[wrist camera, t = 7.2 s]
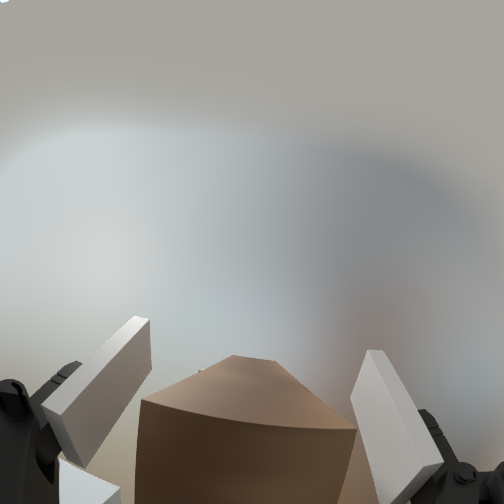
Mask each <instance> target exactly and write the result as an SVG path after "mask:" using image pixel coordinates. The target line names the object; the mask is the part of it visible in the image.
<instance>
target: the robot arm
mask: <svg viewBox="0 0 504 504" xmlns="http://www.w3.org/2000/svg"><path fill="white" fill-rule="evenodd" d="M7 1H8V0H0V4H3V3H5V2H7ZM151 370H152V367H151V348H150V320H149V319H146V318H142V317H138V316H133V317H132V318H131V319H130V320H129V321H128V322H127V323H126V324H125V325H124V326H122V327H121V328H120V329H119V330H118V331H117V332H116V333H115V334H114V335H113V336H112V337H111V338H109V339H108V340H107V341H106V342H105V343H104V344H103V345H102V346H101V347H100V348H99V349H98V350H97V351H96V352H95V353H93V355H91V356H90V357H89V358H88V359H87V360H86V361H85V362H84V363H80V362H78V361H74V362H72V363H70V364H68V365H65V366H64V367H63V368H62V369H61V370H59V371H58V372H57V374H56V375H54V376H53V377H52V378H51V379H50V380H49V381H47V382H46V383H45V384H44V385H43V386H42V387H41V388H40V389H39V390H38V391H36V392H35V393H34V394H33V395H32V396H31V397H30V398H29V396H28V393H27V391H26V388H25V386H24V385H23V384H22V383H21V382H19V381H17V380H14V379H6V380H2V381H0V504H60V503H59V469H60V463H59V459H58V457H57V456H58V455H59V453H60V452H61V451H62V452H63V453H64V455H65V457H66V459H67V460H68V461H70V462H72V463H74V464H76V465H78V466H80V467H82V468H84V469H85V468H86V467H87V466H88V464H89V462H90V461H91V459H92V458H93V456H94V455H95V453H96V452H97V450H98V449H99V447H100V446H101V444H102V443H103V441H104V439H105V438H106V437H107V435H108V434H109V432H110V431H111V429H112V427H113V426H114V424H115V423H116V421H117V420H118V419H119V417H120V415H121V414H122V412H123V411H124V410H125V408H126V406H127V405H128V403H129V402H130V401H131V399H132V398H133V396H134V395H135V393H136V392H137V390H138V389H139V387H140V385H141V384H142V383H143V381H144V380H145V379H146V377H147V375H148V374H149V373H150V371H151ZM350 399H351V402H352V405H353V408H354V412H355V415H356V418H357V422H358V425H359V429H360V432H361V435H362V438H363V443H364V446H365V450H366V453H367V457H368V461H369V464H370V468H371V472H372V476H373V480H374V484H375V488H376V492H377V496H378V500H379V504H406V503H407V502H408V501H409V500H410V501H411V504H504V462H501V463H500V464H499V465H498V466H497V468H496V469H495V470H494V471H489V472H478V471H477V470H476V469H475V467H473V466H472V465H471V464H468V463H465V462H459V461H458V460H457V458H456V456H455V454H454V452H453V450H452V448H451V447H450V445H449V443H448V441H447V439H446V438H445V436H443V432H442V430H441V429H440V428H439V425H438V423H437V422H436V420H435V418H434V417H433V416H432V415H431V414H430V413H428V412H427V411H426V410H425V409H422V410H417V409H416V407H415V405H414V403H413V401H412V399H411V398H410V396H409V394H408V392H407V391H406V389H405V387H404V385H403V384H402V382H401V380H400V378H399V377H398V375H397V373H396V372H395V370H394V368H393V367H392V365H391V363H390V361H389V360H388V358H387V357H386V355H385V353H384V352H383V351H382V350H367V353H366V356H365V359H364V362H363V365H362V367H361V370H360V373H359V376H358V379H357V381H356V384H355V386H354V389H353V392H352V394H351V397H350Z"/></svg>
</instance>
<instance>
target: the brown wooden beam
mask: <svg viewBox="0 0 504 504" xmlns="http://www.w3.org/2000/svg"><path fill="white" fill-rule="evenodd" d="M356 431H357V428H355V427H354V426H353V425H351V424H350V423H349V422H348V421H347V420H345V419H344V418H343V417H341V416H340V415H339V414H338V413H336V412H335V411H334V410H332V409H331V408H330V407H329V406H328V405H327V404H325V403H324V402H323V401H322V400H320V399H319V398H318V397H316V395H314V394H313V393H312V392H311V391H310V390H308V389H307V388H306V387H305V386H304V385H303V384H302V383H300V382H299V381H298V380H297V379H295V378H294V377H293V376H292V375H291V374H290V373H288V372H287V371H286V370H285V369H284V368H283V367H282V366H280V365H279V364H278V363H277V362H276V361H270V360H263V359H254V358H248V357H242V356H235V355H232V356H230V357H228V358H226V359H224V360H222V361H220V362H218V363H217V364H215V365H213V366H211V367H209V368H202V369H200V370H199V371H198V373H197V374H195V375H192V376H191V377H188V378H186V379H184V380H182V381H180V382H178V383H176V384H174V385H171V386H169V387H167V388H165V389H163V390H161V391H158V392H156V393H154V394H152V395H149V396H147V397H145V398H143V399H141V407H140V416H139V426H138V438H137V451H136V453H137V454H136V469H135V504H337V502H338V498H339V496H340V492H341V489H342V486H343V483H344V479H345V476H346V472H347V468H348V465H349V461H350V457H351V453H352V449H353V445H354V440H355V436H356Z"/></svg>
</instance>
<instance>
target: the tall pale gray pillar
mask: <svg viewBox="0 0 504 504" xmlns="http://www.w3.org/2000/svg"><path fill="white" fill-rule="evenodd" d="M58 459H59V458H58ZM59 463H60V469H59V503H60V504H121V501H120V500H121V498H120V497H121V496H120V487H118V486H115V485H113V484H111V483H108V482H106V481H104V480H101V479H99V478H97V477H95V476H93V475H90V474H88V473H86V472H84V471H82V470H80V469H78V468H76V467H74V466H73V465H70V464H69V463H67V462H65V461H63V460H62V459H59Z"/></svg>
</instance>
